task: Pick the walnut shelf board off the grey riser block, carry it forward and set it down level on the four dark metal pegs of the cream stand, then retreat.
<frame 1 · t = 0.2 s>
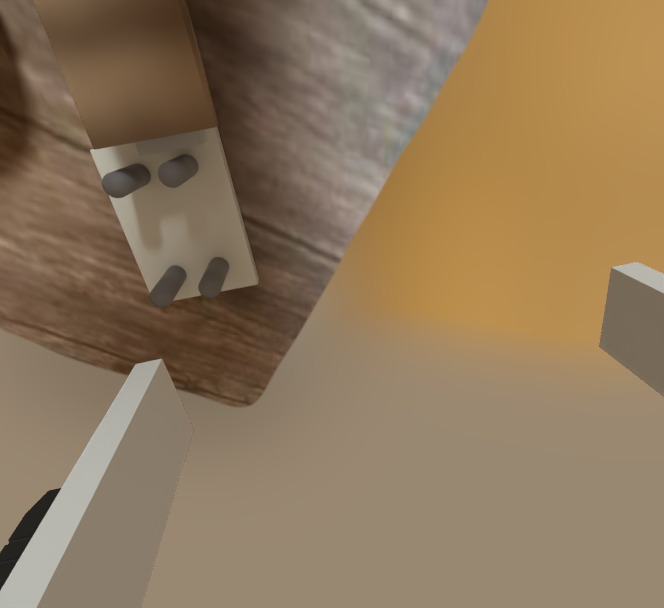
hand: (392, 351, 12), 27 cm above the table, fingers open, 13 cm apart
riser: (159, 62, 31), on the table
peg stand: (185, 219, 36), on the table
board: (126, 19, 25), point 5 cm above the table, touching riser
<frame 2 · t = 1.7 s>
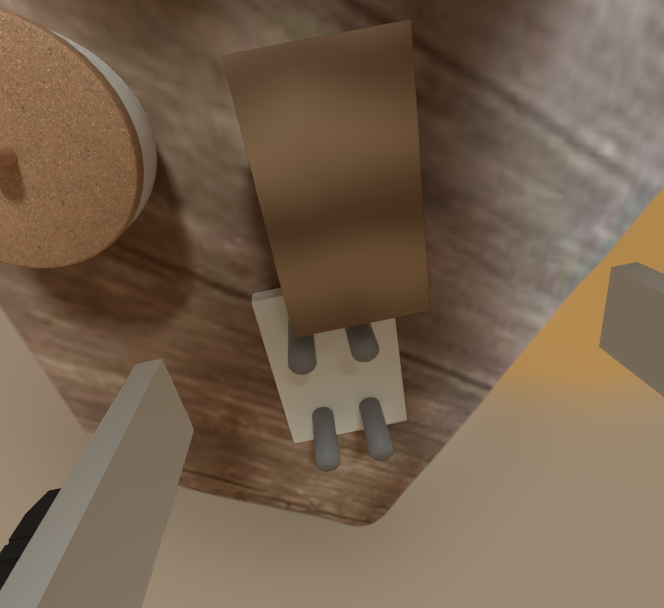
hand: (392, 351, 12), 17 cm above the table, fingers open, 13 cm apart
lidded jar: (88, 139, 24), on the table
peg stand: (335, 356, 33), on the table
board: (337, 193, 22), point 5 cm above the table, touching riser
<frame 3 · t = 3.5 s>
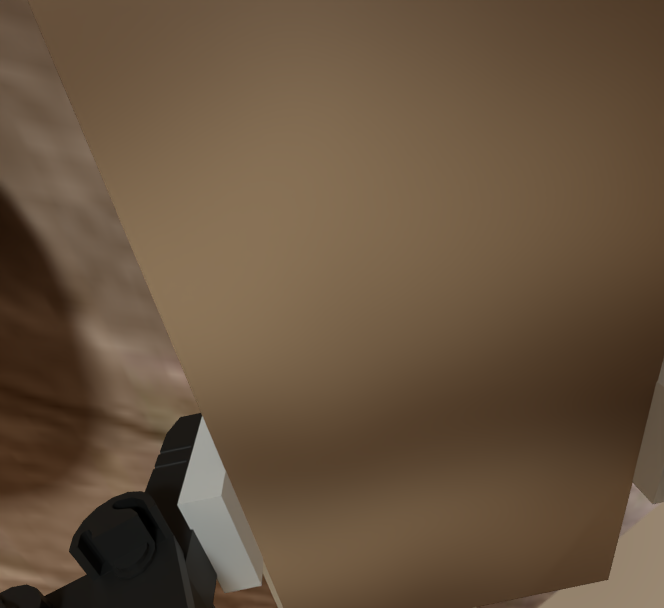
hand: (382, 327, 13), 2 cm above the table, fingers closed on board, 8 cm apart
board: (403, 327, 9), point 5 cm above the table, touching gripper, riser
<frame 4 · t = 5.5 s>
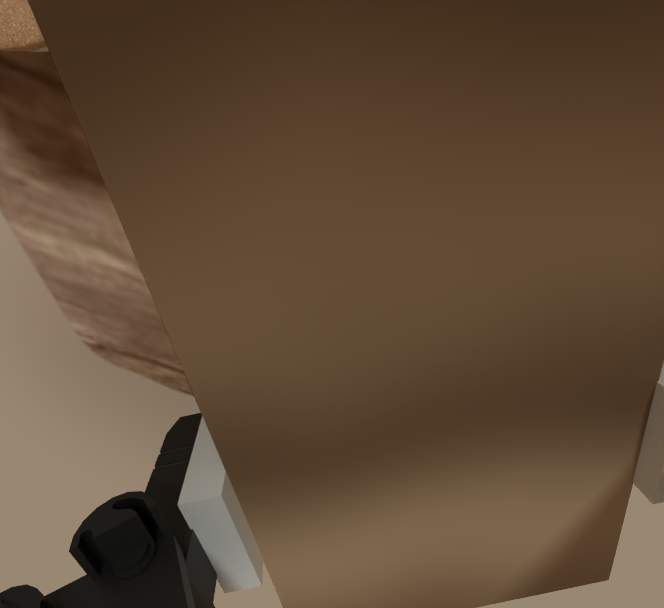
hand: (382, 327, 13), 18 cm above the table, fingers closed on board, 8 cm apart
board: (404, 327, 9), point 22 cm above the table, touching gripper
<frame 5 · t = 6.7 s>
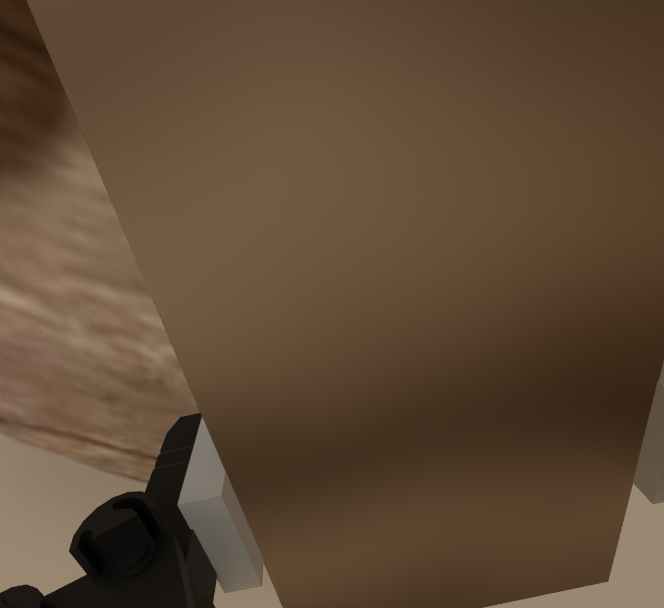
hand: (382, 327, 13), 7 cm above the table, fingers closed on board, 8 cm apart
board: (404, 329, 9), point 11 cm above the table, touching gripper
when the fingers open (5 cm above the table, at t = 7.6 s): board drops 2 cm, resting on peg stand.
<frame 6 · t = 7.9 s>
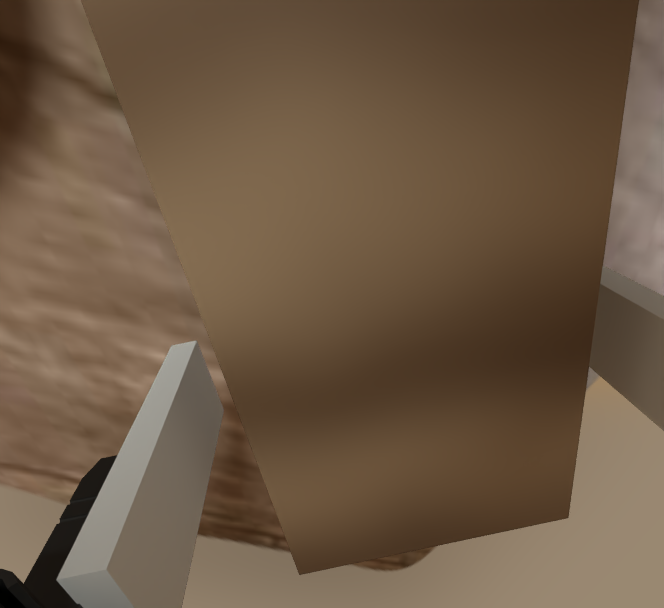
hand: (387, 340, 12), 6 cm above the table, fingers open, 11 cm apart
board: (386, 297, 11), point 6 cm above the table, touching peg stand
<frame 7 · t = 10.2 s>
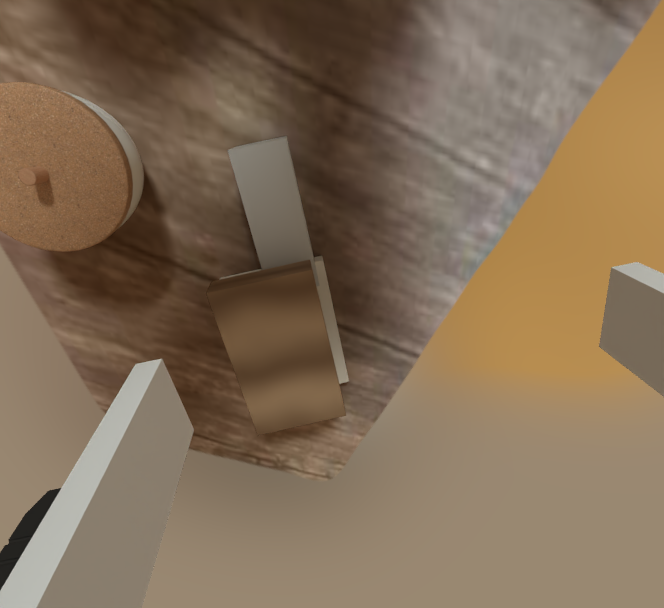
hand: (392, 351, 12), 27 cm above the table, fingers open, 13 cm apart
lidded jar: (95, 163, 34), on the table
riser: (278, 210, 36), on the table
peg stand: (288, 329, 41), on the table
board: (282, 344, 35), point 6 cm above the table, touching peg stand
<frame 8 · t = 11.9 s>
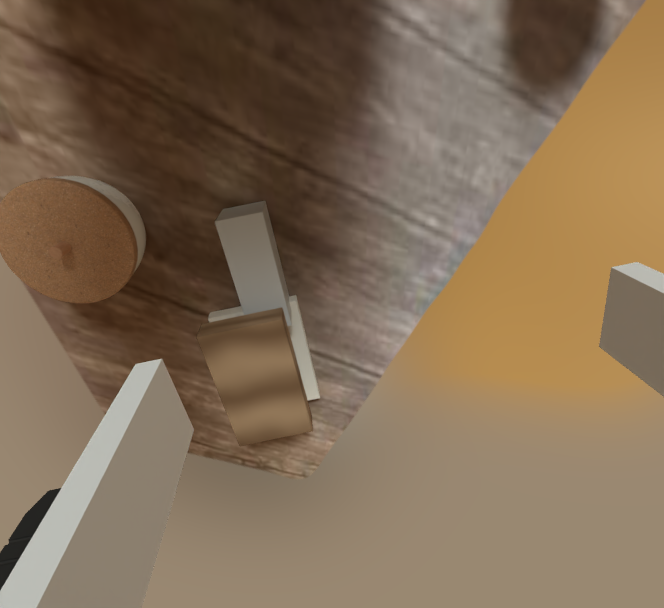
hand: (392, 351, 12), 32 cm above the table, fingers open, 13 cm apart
lidded jar: (105, 221, 40), on the table
riser: (259, 259, 43), on the table
peg stand: (268, 354, 49), on the table
board: (260, 372, 42), point 6 cm above the table, touching peg stand
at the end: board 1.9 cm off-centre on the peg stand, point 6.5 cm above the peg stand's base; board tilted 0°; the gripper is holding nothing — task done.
